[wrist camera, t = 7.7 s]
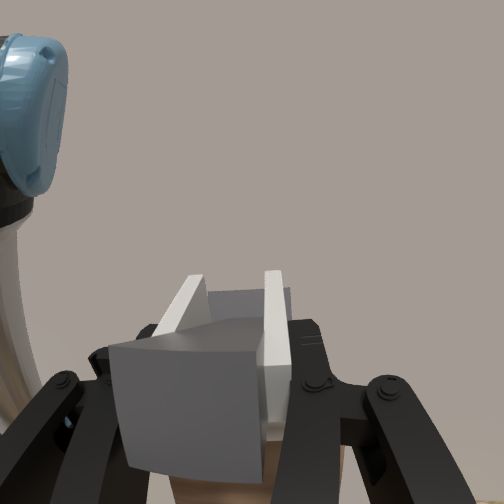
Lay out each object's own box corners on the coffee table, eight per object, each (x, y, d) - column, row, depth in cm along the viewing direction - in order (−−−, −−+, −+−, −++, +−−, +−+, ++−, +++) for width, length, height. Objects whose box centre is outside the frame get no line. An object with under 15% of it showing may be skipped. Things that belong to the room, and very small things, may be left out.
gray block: (336, 477, 4) (332, 233, 5) (80, 450, 4) (60, 253, 5) (289, 344, 24) (286, 291, 25) (225, 346, 25) (223, 294, 26)
